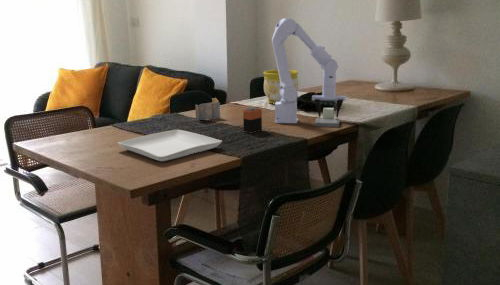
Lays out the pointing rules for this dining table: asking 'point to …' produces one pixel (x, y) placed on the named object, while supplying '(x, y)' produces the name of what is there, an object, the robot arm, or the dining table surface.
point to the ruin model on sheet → (208, 110)
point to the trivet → (327, 122)
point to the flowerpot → (276, 84)
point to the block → (328, 113)
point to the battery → (252, 119)
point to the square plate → (170, 144)
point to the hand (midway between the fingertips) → (328, 116)
